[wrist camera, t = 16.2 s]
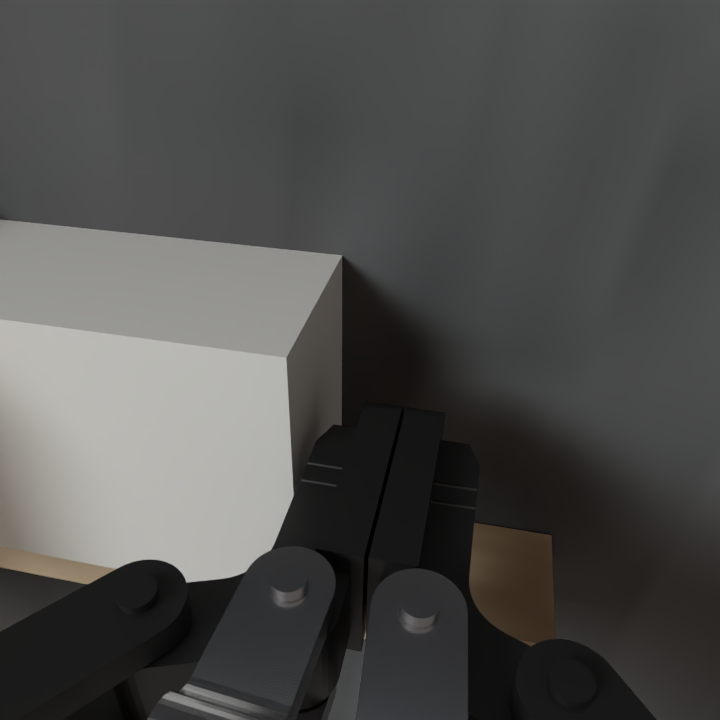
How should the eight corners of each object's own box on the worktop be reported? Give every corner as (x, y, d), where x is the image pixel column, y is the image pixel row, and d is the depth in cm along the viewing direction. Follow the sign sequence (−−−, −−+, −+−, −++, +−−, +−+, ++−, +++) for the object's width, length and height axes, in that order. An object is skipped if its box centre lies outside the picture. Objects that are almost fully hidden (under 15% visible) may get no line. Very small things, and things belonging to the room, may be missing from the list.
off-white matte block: (55, 424, 18) (-50, 536, 15) (-10, 212, 15) (-164, 296, 11) (344, 470, 17) (299, 605, 13) (345, 249, 13) (286, 358, 10)
